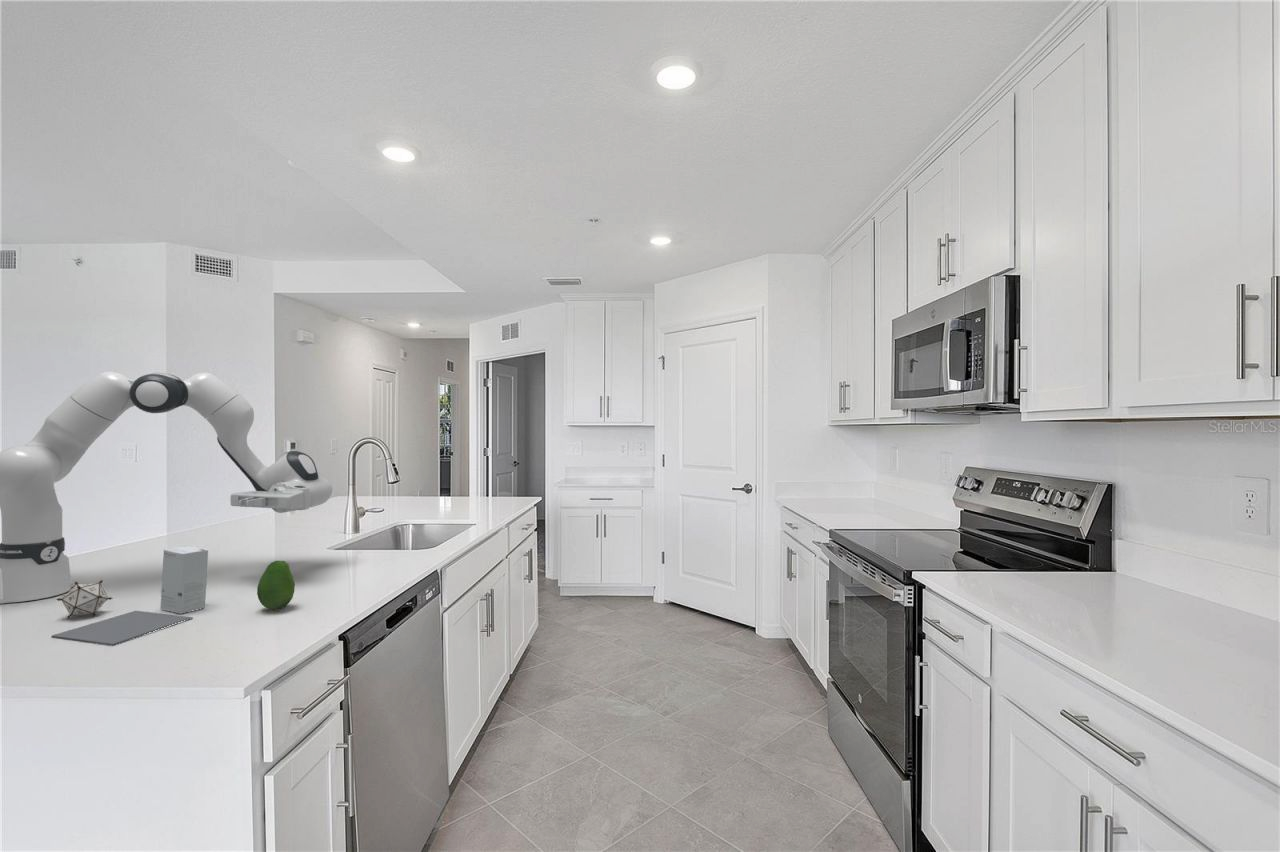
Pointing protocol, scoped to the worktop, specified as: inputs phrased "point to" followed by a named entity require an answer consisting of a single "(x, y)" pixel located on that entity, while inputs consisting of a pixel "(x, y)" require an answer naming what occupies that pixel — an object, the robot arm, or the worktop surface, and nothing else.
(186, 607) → the skincare box
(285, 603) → the fruit
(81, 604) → the game die
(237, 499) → the robot arm
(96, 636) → the mat
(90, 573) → the worktop surface
